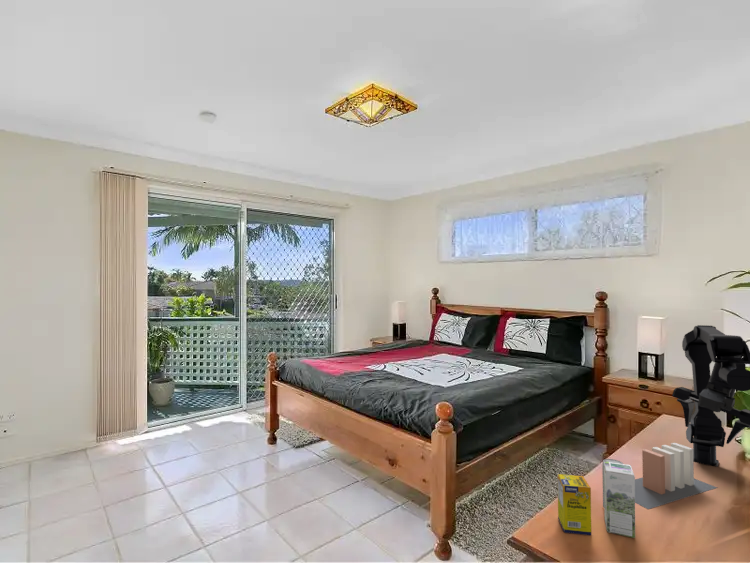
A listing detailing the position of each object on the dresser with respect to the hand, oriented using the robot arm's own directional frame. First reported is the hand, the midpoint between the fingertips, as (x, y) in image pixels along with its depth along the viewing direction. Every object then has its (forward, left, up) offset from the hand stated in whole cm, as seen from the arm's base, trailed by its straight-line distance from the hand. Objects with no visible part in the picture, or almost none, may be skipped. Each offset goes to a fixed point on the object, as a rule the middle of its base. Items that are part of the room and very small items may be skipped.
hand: (706, 434), depth 113 cm
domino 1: (+8, -9, -14) cm, 18 cm away
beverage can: (+29, -16, -15) cm, 36 cm away
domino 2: (+4, -7, -14) cm, 17 cm away
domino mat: (+8, -9, -15) cm, 20 cm away
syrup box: (+37, -13, -15) cm, 42 cm away
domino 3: (0, -6, -14) cm, 15 cm away
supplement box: (+43, -21, -15) cm, 50 cm away
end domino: (+11, -11, -14) cm, 21 cm away
